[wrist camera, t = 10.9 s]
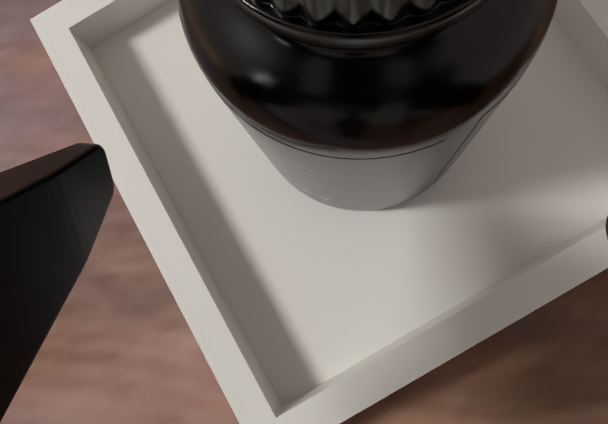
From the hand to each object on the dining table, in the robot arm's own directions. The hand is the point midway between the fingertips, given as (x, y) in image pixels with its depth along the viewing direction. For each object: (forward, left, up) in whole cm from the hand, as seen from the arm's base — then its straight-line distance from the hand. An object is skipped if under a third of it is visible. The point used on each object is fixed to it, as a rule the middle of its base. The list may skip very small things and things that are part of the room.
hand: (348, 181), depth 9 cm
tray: (+3, -2, -9) cm, 10 cm away
